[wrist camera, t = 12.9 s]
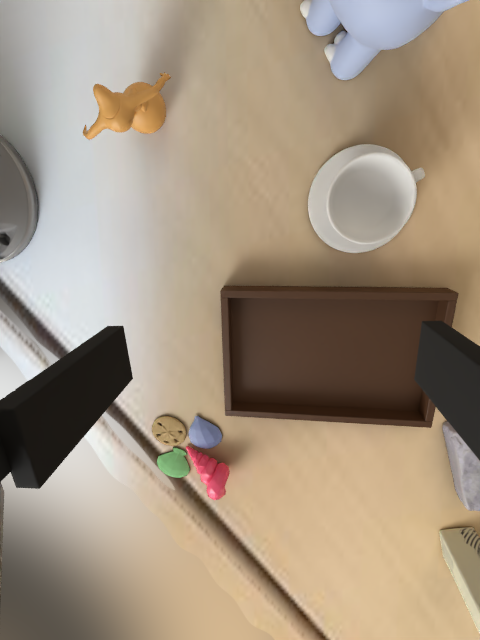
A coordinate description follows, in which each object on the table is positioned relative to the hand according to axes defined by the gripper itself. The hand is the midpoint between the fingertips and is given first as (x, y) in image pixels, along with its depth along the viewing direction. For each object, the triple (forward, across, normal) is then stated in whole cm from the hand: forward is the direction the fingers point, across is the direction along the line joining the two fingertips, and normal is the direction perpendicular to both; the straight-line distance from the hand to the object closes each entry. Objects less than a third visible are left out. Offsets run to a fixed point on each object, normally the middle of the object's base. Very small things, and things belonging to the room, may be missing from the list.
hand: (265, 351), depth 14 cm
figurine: (+22, -11, +14) cm, 29 cm away
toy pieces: (+22, -12, -24) cm, 35 cm away
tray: (+22, +6, -10) cm, 25 cm away
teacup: (+22, +9, +6) cm, 25 cm away
